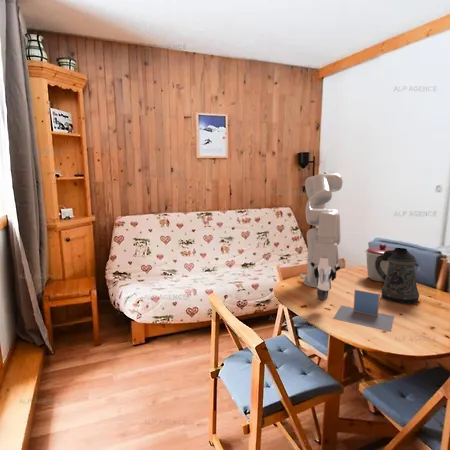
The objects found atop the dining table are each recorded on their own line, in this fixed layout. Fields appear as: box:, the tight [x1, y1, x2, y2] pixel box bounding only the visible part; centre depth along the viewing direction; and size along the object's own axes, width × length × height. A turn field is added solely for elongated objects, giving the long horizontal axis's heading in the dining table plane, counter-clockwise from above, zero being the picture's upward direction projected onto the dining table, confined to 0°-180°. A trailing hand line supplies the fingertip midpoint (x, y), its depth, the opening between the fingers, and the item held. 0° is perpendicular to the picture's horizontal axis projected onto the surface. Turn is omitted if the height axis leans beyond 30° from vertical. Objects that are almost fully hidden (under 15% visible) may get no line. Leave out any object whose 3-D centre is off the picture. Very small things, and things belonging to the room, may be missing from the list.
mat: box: [332, 305, 395, 333], centre depth 137 cm, size 22×16×1 cm
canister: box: [364, 243, 395, 283], centre depth 185 cm, size 18×18×21 cm
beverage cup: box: [316, 277, 330, 301], centre depth 157 cm, size 7×7×20 cm
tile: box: [353, 288, 381, 316], centre depth 140 cm, size 10×2×10 cm, turn 58°
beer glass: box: [316, 257, 333, 292], centre depth 144 cm, size 7×7×15 cm
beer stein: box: [375, 247, 420, 306], centre depth 157 cm, size 16×19×25 cm
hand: (324, 278), depth 144 cm, fingers closed on beer glass, 6 cm apart
